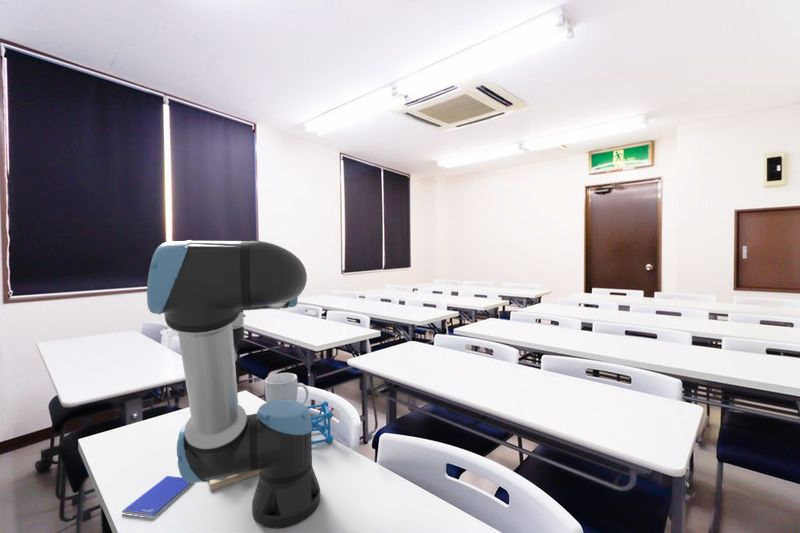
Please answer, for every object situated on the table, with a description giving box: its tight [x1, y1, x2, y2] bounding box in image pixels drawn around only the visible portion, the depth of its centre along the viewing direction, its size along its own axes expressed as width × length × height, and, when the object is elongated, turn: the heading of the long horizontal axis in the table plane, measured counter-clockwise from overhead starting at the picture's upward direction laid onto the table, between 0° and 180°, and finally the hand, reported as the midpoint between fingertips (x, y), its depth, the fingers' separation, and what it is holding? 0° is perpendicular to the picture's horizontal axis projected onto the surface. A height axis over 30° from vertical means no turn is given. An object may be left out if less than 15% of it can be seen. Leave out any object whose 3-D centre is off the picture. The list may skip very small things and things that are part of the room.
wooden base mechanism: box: [207, 470, 260, 491], centre depth 101 cm, size 23×12×6 cm, turn 35°
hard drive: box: [121, 475, 194, 520], centre depth 86 cm, size 2×8×12 cm
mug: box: [264, 372, 310, 405], centre depth 129 cm, size 15×11×13 cm
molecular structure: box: [306, 400, 334, 445], centre depth 111 cm, size 10×10×10 cm
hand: (232, 405), depth 106 cm, fingers closed
